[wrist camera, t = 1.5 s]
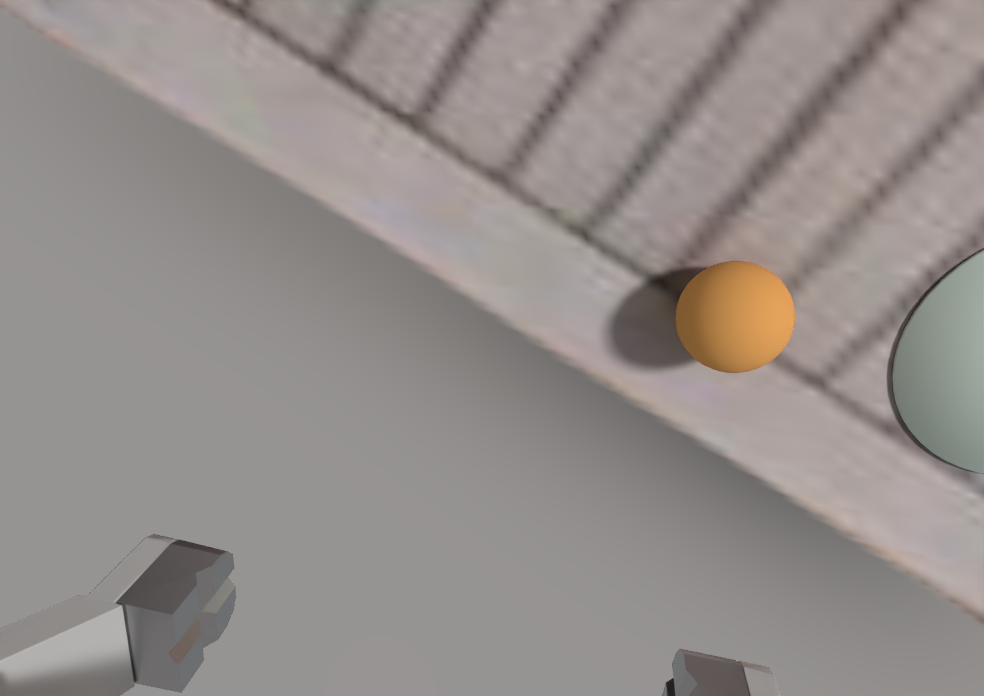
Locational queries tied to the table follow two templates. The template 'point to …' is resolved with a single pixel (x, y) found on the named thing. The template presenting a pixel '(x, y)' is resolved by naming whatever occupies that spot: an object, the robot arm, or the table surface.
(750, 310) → the ball
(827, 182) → the table surface
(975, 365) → the disc
